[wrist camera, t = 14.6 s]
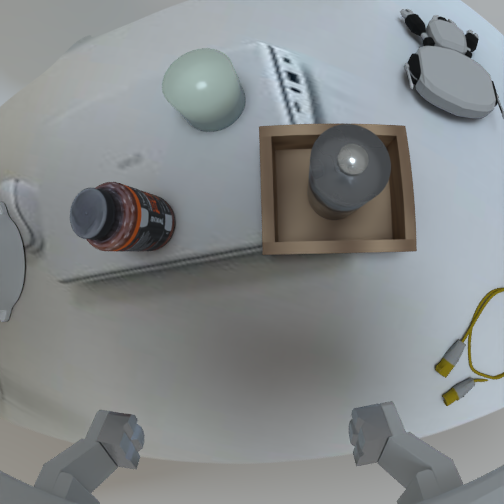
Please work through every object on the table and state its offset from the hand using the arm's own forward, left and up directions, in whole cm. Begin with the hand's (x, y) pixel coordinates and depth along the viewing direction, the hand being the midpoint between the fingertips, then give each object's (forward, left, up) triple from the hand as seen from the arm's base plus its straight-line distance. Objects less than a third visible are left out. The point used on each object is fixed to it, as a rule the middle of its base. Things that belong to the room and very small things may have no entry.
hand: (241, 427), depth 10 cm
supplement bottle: (-14, +9, -21) cm, 27 cm away
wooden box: (+5, +11, -21) cm, 24 cm away
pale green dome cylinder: (-7, +22, -21) cm, 31 cm away
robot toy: (+21, +27, -21) cm, 40 cm away
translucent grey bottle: (+5, +11, -20) cm, 23 cm away
